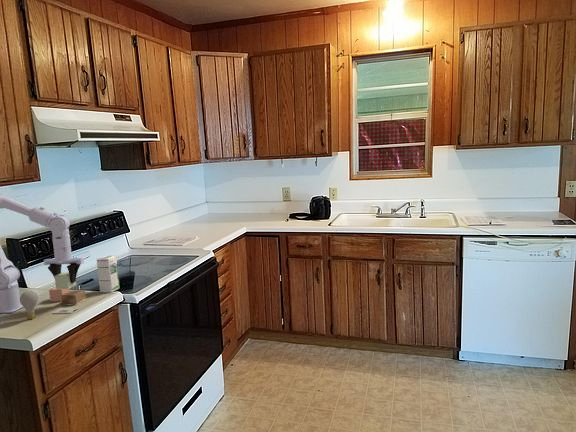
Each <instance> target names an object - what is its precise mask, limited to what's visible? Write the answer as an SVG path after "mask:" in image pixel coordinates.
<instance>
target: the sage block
mask: <svg viewBox="0 0 576 432" xmlns="http://www.w3.org/2000/svg"><path fill="white" fill-rule="evenodd" d="M54 283H55V286H56V289H69V290H70V289H71V288H73V287H75V286H77V281H76V282H74V283H71V282H70V275H69V271H68V272H65V271H64V272H61V273H60V274H58V275H56V276H55V278H54Z"/></svg>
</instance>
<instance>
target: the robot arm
mask: <svg viewBox="0 0 576 432" xmlns="http://www.w3.org/2000/svg"><path fill="white" fill-rule="evenodd" d="M0 209H6V210H9V211H12V212H15V213H18V214H21V215H23V216H27V217H28V219H29V221H30V222H33V223H35V224H38V225H40V226H43V227H45V228H48V229H49V230H50V232H51V233H52V235H51V236H52V245H53V253H54V255H53V256H54V258H46V259H43V266H47V269H48V270H49V271H50V272H49V273H51V274H52V276H53V278H54V279H55V276H56V275H58V274H60V273H62V265H67V266H66V268H67V270H68V272H69V275H70V282H71V283H74V282H76V283H77V281H76V280H77V276H78V275H77V274H78V271H79V269H80V267H81V265H83V264H84V263H85V260H84V258H83V257H73V255H72V247H71V235H70V230H69V229H70V225H71V221H70V219H69V218H68V216H66V215H64V214H59V213H58V212H52V211H50V210H47V209H46V207H43V206H40V207H39V206H35V207H31V206H28V205H27V204H24V203H22V202H20V201H18V200H16V199H13V198H11V197H9V196H7V195H4V194H0ZM20 276H21V272H20V270H19V268H17V267H16V266H15V265H14V263H13V262H12V261H11V260H9V259H8V258H7V257H6V254H5V252H4V249H3V248H2V246H1V244H0V313H1V314H2V313H4V314H5V313H6V314H8V313H10V314H12V313H15V312H16V311H18V310H20V309H22V308H24V307H23V305H22V304H21V303H20V296H21V295H20V291H19V290H20V289H19V283H18V280H19V278H20Z"/></svg>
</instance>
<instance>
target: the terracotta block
mask: <svg viewBox="0 0 576 432" xmlns="http://www.w3.org/2000/svg"><path fill="white" fill-rule="evenodd" d="M48 291H49V301H61V302H62V299H61V295H63V294H65V293H67V292H69V291H70V288H69V289H56V285H55V286H54V287H52V288H51V287H50V289H48Z"/></svg>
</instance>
